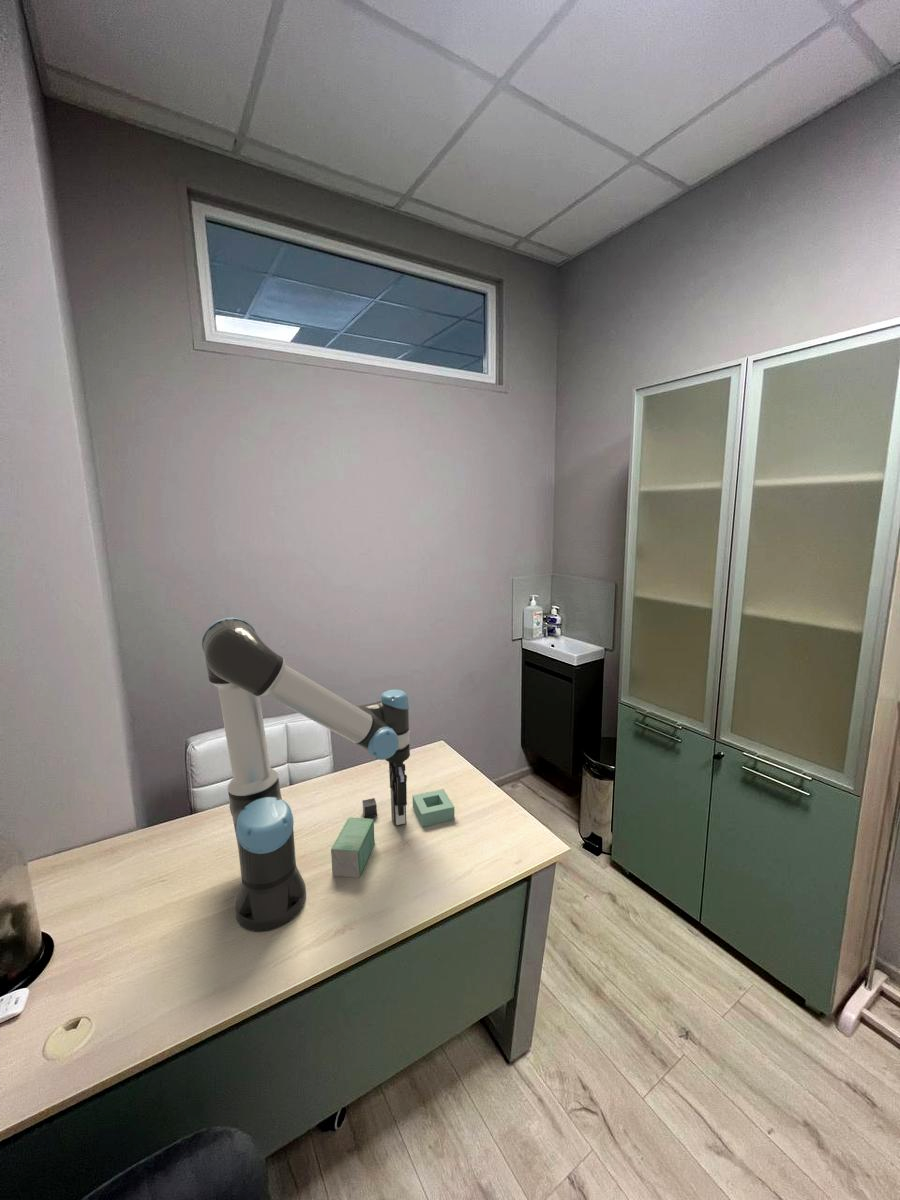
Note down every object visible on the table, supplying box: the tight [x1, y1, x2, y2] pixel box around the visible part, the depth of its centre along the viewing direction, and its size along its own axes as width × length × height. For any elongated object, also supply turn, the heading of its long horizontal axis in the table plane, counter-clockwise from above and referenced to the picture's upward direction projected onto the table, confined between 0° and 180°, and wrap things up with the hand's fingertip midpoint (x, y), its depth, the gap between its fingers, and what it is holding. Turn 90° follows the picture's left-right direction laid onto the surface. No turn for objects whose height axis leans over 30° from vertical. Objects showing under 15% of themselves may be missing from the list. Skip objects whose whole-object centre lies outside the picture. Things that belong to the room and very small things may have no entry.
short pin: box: [361, 797, 378, 819], centre depth 142 cm, size 4×4×4 cm
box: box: [330, 817, 375, 879], centre depth 123 cm, size 7×14×8 cm, turn 173°
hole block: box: [412, 788, 456, 827], centre depth 142 cm, size 10×10×4 cm
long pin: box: [389, 785, 407, 826], centre depth 138 cm, size 4×4×10 cm
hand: (398, 818), depth 139 cm, fingers closed on long pin, 4 cm apart
